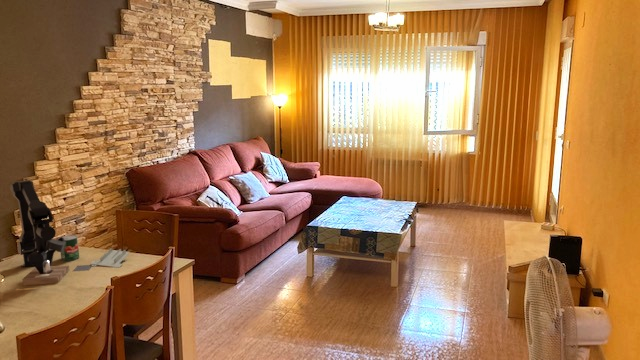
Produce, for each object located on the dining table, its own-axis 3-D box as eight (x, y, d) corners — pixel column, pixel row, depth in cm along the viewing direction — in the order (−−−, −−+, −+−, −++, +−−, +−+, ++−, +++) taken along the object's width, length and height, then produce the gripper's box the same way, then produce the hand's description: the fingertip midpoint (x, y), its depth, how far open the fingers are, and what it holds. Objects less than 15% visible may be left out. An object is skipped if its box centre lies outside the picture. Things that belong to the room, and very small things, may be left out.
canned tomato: (68, 256, 248) (66, 234, 246) (83, 257, 246) (80, 235, 244) (57, 261, 240) (54, 239, 238) (72, 262, 239) (69, 240, 237)
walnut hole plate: (36, 273, 226) (35, 266, 225) (69, 271, 228) (68, 264, 227) (23, 286, 212) (22, 278, 211) (58, 283, 214) (57, 276, 213)
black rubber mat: (77, 266, 234) (77, 265, 234) (93, 265, 235) (93, 264, 235) (72, 272, 227) (72, 271, 227) (89, 271, 228) (88, 270, 228)
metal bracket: (106, 245, 244) (134, 248, 241) (109, 255, 247) (136, 258, 243) (87, 262, 232) (116, 266, 228) (90, 272, 234) (119, 276, 231)
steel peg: (44, 277, 221) (42, 260, 220) (52, 276, 222) (50, 259, 220) (41, 280, 218) (39, 262, 217) (49, 279, 219) (47, 262, 217)
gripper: (53, 240, 208) (58, 276, 211) (69, 227, 226) (73, 261, 229) (24, 242, 207) (29, 278, 210) (42, 229, 225) (46, 262, 228)
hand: (46, 269), depth 219 cm, fingers open, 9 cm apart
